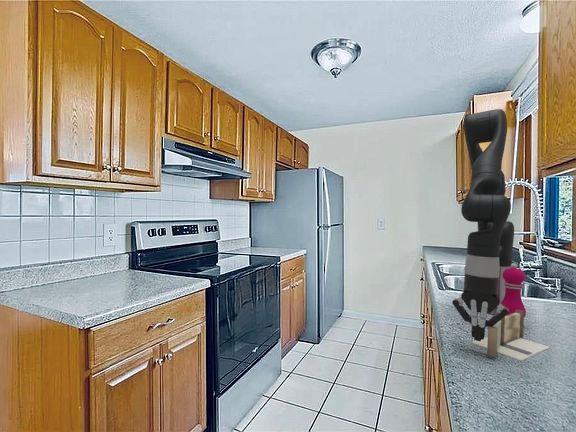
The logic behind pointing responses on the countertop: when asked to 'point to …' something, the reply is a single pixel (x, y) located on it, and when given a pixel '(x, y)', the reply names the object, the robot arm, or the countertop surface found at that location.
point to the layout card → (516, 348)
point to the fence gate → (494, 339)
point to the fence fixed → (512, 326)
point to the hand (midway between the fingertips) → (477, 339)
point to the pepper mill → (513, 289)
